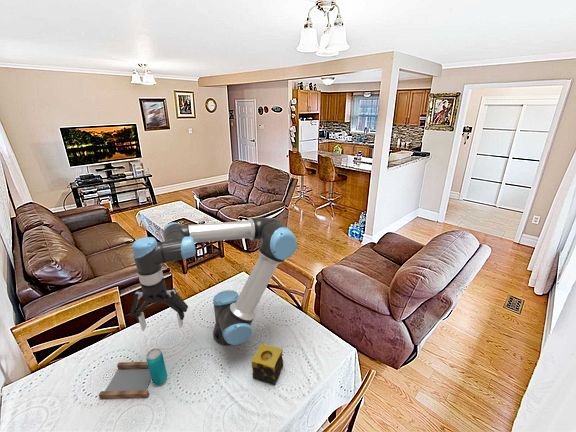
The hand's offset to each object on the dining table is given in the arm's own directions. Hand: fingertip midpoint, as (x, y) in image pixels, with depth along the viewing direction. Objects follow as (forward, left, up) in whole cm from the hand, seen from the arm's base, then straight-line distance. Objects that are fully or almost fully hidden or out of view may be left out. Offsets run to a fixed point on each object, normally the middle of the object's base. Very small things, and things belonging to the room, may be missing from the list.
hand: (163, 327), depth 107 cm
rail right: (+16, -5, -27) cm, 31 cm away
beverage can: (+5, +2, -27) cm, 27 cm away
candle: (-39, -1, -27) cm, 48 cm away
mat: (+17, +2, -27) cm, 31 cm away
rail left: (+16, +8, -27) cm, 32 cm away
